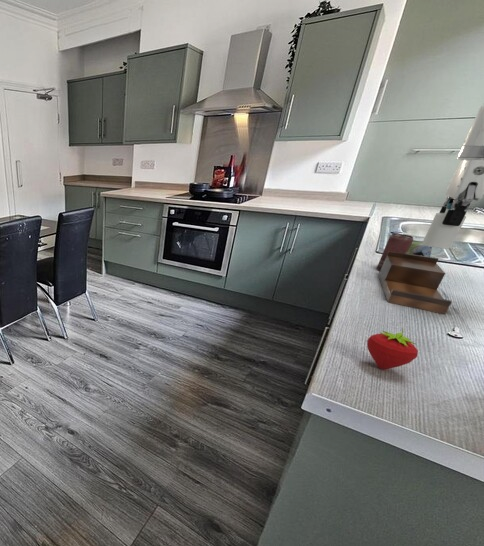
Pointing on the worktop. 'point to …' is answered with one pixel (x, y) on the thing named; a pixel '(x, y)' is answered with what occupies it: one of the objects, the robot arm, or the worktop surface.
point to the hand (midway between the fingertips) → (447, 222)
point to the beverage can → (419, 248)
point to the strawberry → (391, 350)
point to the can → (396, 246)
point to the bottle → (441, 232)
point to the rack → (413, 281)
